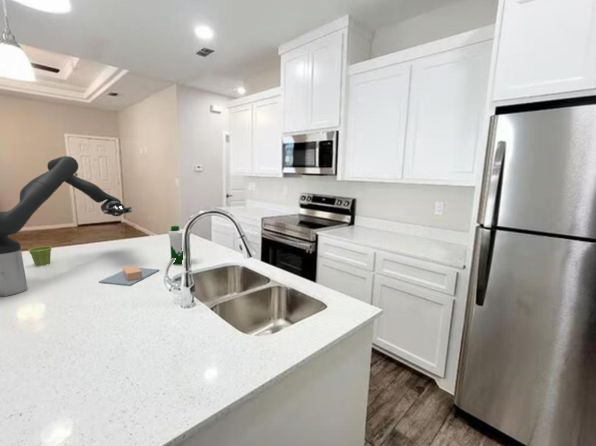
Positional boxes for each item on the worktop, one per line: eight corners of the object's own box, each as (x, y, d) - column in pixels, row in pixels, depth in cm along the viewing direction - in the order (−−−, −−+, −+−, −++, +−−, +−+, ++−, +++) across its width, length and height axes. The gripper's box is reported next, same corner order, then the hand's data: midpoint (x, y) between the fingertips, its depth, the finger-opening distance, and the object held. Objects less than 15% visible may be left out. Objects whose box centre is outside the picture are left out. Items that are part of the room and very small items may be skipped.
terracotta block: (122, 267, 141) (126, 273, 134) (136, 265, 145) (141, 271, 137) (123, 274, 142) (127, 281, 134) (137, 272, 146) (142, 278, 138)
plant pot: (43, 267, 151) (41, 251, 150) (25, 267, 151) (23, 250, 150) (58, 261, 160) (56, 246, 159) (41, 261, 161) (39, 245, 159)
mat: (130, 285, 131) (130, 284, 130) (98, 282, 133) (98, 281, 133) (159, 270, 150) (159, 269, 150) (131, 268, 153) (131, 267, 153)
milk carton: (178, 259, 168) (175, 224, 164) (192, 260, 166) (190, 225, 162) (168, 264, 159) (165, 227, 156) (183, 265, 158) (181, 228, 154)
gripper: (100, 202, 156) (104, 205, 143) (128, 201, 164) (135, 203, 151) (101, 216, 157) (105, 220, 144) (129, 214, 165) (136, 218, 152)
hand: (121, 212), depth 147 cm, fingers closed
